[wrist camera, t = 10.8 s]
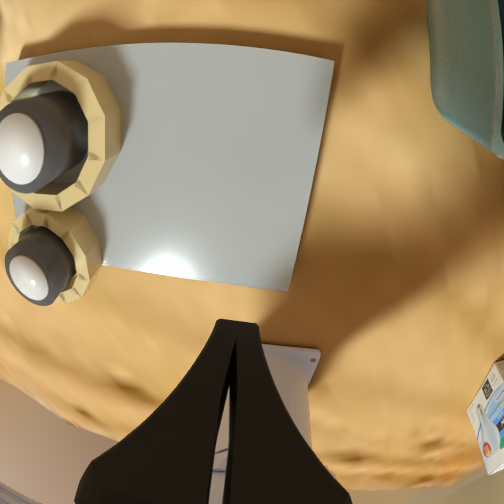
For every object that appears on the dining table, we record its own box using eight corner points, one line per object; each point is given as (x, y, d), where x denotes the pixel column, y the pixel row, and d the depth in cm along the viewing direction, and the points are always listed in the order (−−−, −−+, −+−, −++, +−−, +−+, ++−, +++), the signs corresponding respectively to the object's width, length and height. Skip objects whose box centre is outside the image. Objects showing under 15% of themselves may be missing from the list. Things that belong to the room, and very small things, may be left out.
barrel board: (280, 308, 23) (282, 366, 18) (37, 268, 22) (2, 308, 18) (330, 62, 15) (356, 55, 10) (17, 62, 14) (-39, 70, 9)
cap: (97, 165, 17) (60, 191, 13) (37, 173, 17) (-2, 198, 14) (87, 83, 14) (44, 91, 11) (25, 100, 14) (-19, 113, 11)
